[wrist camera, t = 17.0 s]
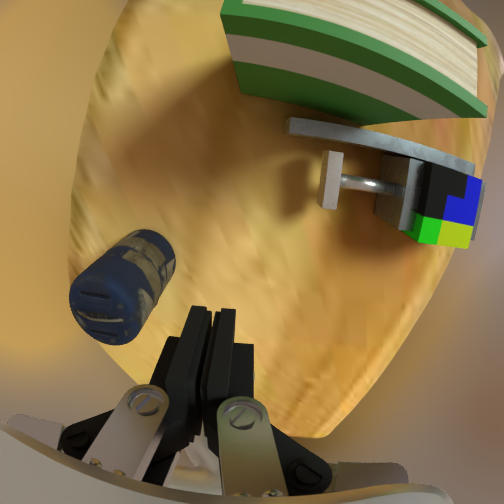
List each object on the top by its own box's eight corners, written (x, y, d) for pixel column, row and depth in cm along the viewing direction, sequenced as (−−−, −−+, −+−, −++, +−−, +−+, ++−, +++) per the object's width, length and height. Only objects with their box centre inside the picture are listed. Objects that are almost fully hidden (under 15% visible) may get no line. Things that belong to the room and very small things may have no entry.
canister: (172, 289, 43) (133, 367, 26) (120, 272, 42) (64, 337, 25) (184, 236, 40) (138, 300, 23) (127, 219, 39) (57, 268, 22)
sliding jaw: (387, 215, 38) (412, 231, 30) (311, 206, 38) (325, 221, 30) (396, 157, 35) (425, 162, 27) (318, 142, 34) (335, 142, 27)
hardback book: (372, 81, 31) (486, 37, 8) (364, 125, 33) (486, 117, 11) (252, 47, 29) (249, -63, 7) (241, 93, 32) (219, 13, 10)
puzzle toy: (443, 170, 35) (482, 180, 26) (432, 227, 39) (467, 248, 29) (395, 156, 35) (432, 162, 26) (385, 220, 38) (417, 242, 29)
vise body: (446, 224, 38) (473, 240, 31) (278, 202, 38) (284, 216, 30) (456, 160, 34) (487, 167, 27) (285, 120, 33) (294, 113, 26)
